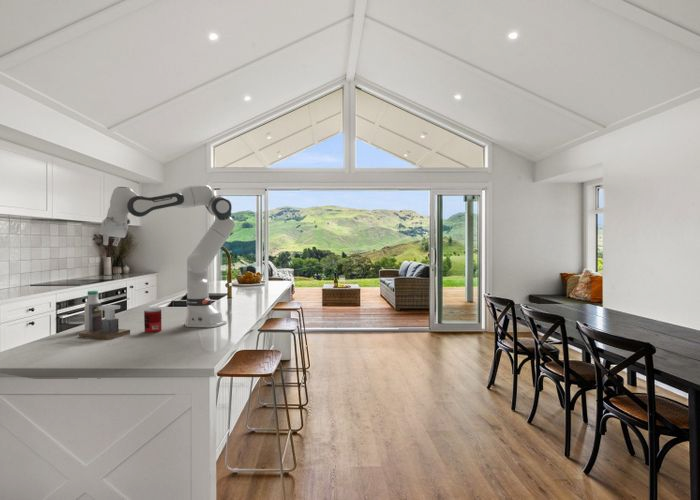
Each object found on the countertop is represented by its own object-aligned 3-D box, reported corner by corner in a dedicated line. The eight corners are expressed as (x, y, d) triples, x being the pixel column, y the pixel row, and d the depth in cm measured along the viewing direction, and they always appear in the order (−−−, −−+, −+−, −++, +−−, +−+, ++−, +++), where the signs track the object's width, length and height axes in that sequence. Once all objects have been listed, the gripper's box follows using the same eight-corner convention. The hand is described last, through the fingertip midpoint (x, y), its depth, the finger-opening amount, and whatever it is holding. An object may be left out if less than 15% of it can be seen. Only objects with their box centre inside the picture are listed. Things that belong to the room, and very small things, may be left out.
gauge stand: (130, 333, 209) (129, 303, 209) (106, 340, 197) (106, 307, 197) (102, 331, 216) (102, 301, 215) (78, 336, 203) (78, 305, 203)
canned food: (164, 329, 219) (164, 308, 219) (155, 333, 211) (155, 311, 211) (150, 329, 220) (150, 308, 219) (141, 332, 212) (140, 310, 211)
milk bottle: (96, 331, 215) (95, 292, 214) (81, 331, 215) (80, 292, 214) (105, 328, 222) (104, 290, 222) (90, 328, 222) (90, 290, 222)
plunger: (120, 321, 207) (120, 305, 207) (109, 324, 201) (108, 307, 201) (103, 320, 211) (103, 304, 210) (91, 322, 205) (91, 306, 204)
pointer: (103, 309, 208) (103, 308, 208) (97, 310, 205) (97, 309, 205) (100, 309, 209) (100, 308, 209) (94, 310, 206) (94, 309, 206)
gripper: (112, 217, 203) (106, 246, 202) (132, 221, 223) (126, 247, 222) (99, 214, 202) (92, 243, 202) (119, 219, 223) (113, 244, 222)
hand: (110, 245), depth 212 cm, fingers open, 8 cm apart
